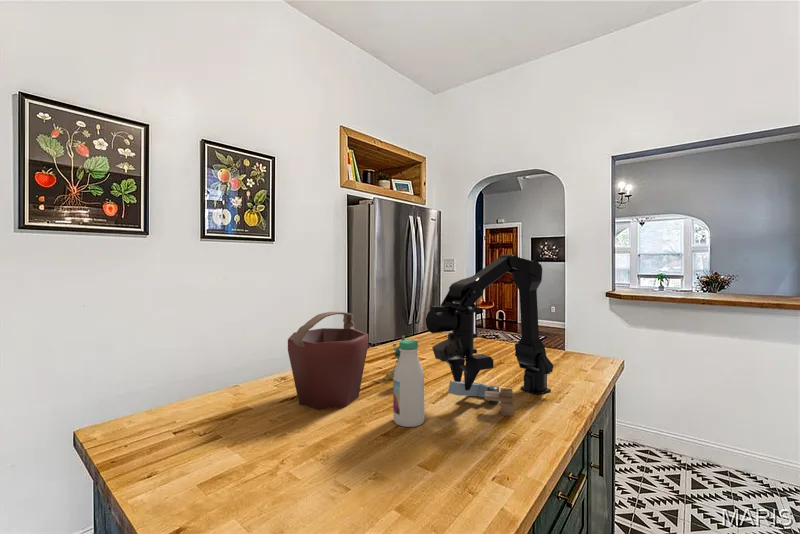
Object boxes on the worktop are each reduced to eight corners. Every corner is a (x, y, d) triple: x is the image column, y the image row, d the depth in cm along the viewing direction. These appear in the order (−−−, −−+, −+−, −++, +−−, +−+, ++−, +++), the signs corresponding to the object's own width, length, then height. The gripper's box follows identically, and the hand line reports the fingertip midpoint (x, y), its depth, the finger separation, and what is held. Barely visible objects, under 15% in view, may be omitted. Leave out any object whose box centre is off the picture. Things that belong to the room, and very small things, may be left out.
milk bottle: (428, 417, 98) (427, 339, 97) (419, 429, 91) (419, 345, 90) (399, 413, 100) (399, 337, 100) (389, 425, 93) (388, 343, 93)
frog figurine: (432, 373, 136) (429, 332, 135) (393, 389, 125) (389, 345, 124) (415, 366, 144) (411, 328, 142) (376, 381, 133) (372, 340, 131)
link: (472, 392, 116) (473, 382, 116) (494, 397, 111) (495, 386, 112) (441, 391, 101) (443, 379, 101) (465, 397, 97) (467, 385, 97)
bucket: (342, 380, 128) (341, 305, 127) (387, 397, 112) (386, 312, 111) (272, 400, 110) (271, 313, 110) (314, 423, 95) (313, 322, 94)
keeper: (485, 408, 103) (485, 386, 103) (512, 410, 102) (512, 388, 102) (484, 414, 99) (484, 391, 99) (512, 416, 98) (513, 393, 98)
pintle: (494, 399, 109) (494, 385, 109) (501, 403, 107) (501, 388, 107) (486, 401, 108) (486, 386, 108) (493, 405, 106) (493, 389, 106)
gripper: (419, 326, 107) (419, 381, 107) (458, 338, 90) (458, 404, 91) (452, 323, 112) (452, 376, 112) (495, 334, 95) (494, 397, 96)
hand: (462, 387), depth 103 cm, fingers closed on link, 4 cm apart
